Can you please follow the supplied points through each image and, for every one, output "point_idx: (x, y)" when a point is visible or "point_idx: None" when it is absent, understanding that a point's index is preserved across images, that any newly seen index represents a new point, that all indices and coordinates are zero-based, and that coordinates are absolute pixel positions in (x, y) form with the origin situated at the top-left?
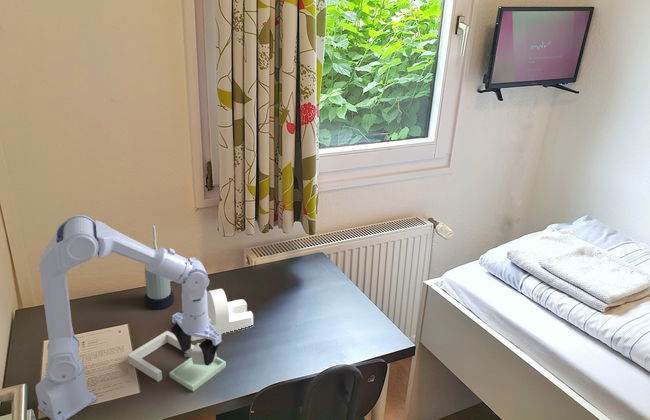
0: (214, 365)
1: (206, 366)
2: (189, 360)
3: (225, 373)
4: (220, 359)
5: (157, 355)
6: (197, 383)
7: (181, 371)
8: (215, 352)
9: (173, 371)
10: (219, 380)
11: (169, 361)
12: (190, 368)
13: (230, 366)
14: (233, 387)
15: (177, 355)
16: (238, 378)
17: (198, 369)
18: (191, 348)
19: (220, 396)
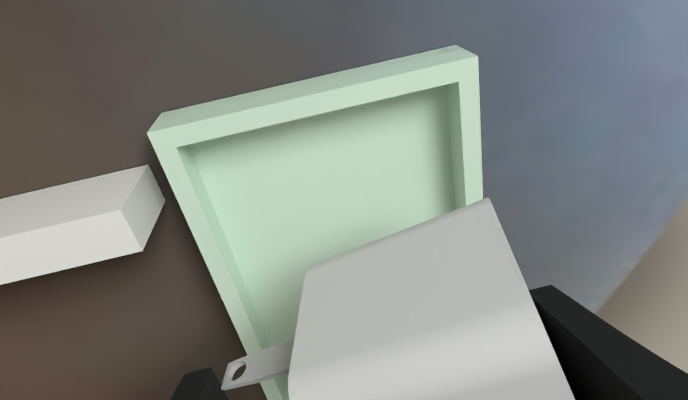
0: (392, 134)
1: (356, 190)
2: (236, 287)
3: (511, 98)
4: (409, 80)
5: (4, 373)
6: None
7: (284, 333)
8: (669, 365)
9: (282, 397)
10: (528, 173)
11: (117, 339)
12: (296, 284)
13: (482, 9)
14: (658, 134)
15: (71, 280)
16: (637, 47)
17: (342, 247)
18: (116, 255)
19: (629, 236)
